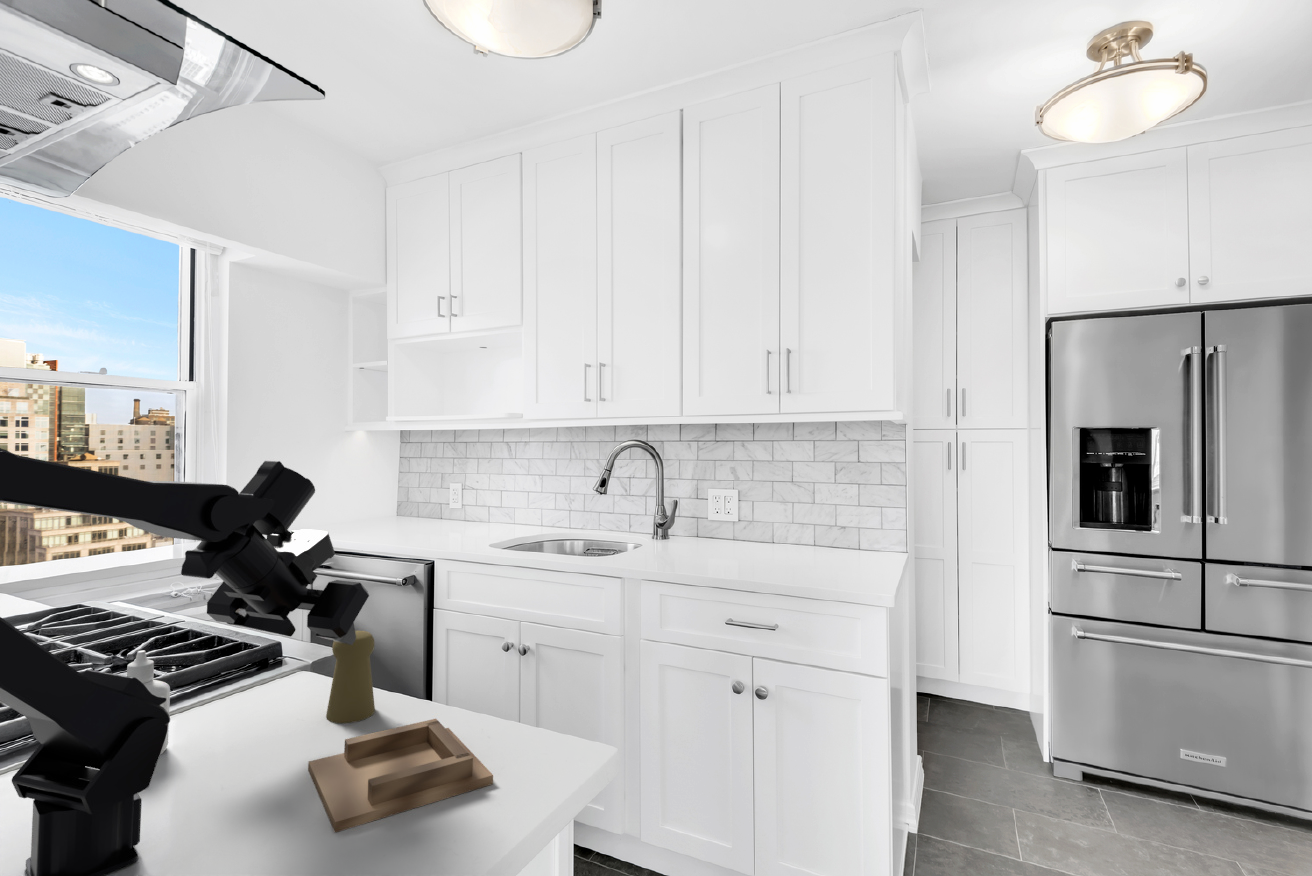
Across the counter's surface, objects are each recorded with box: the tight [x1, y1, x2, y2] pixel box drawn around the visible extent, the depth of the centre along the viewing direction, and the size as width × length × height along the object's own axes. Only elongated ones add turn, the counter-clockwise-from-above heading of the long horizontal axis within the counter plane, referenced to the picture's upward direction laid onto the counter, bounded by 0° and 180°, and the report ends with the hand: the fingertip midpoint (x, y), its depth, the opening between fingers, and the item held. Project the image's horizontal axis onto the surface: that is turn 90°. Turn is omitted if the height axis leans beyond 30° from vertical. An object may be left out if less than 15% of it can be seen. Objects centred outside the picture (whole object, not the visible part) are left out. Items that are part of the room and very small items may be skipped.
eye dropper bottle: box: [126, 650, 171, 755], centre depth 75 cm, size 4×6×12 cm
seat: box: [307, 718, 494, 833], centre depth 73 cm, size 16×14×3 cm
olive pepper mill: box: [325, 630, 376, 724], centre depth 88 cm, size 6×6×11 cm
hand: (322, 637), depth 83 cm, fingers open, 9 cm apart
